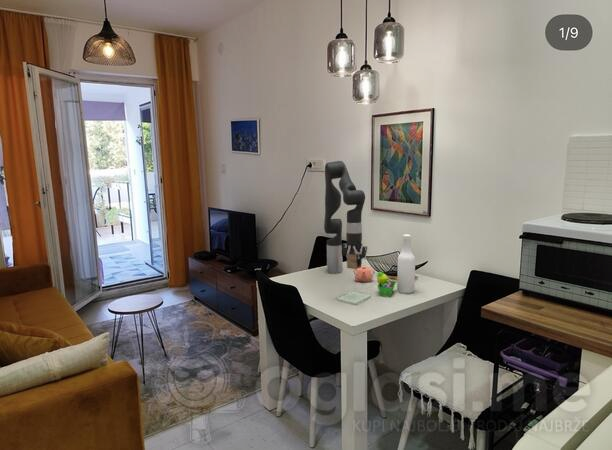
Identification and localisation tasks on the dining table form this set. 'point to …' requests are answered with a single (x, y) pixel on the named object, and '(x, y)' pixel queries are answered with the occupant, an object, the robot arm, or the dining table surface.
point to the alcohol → (406, 267)
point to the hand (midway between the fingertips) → (354, 265)
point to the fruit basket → (385, 285)
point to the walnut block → (352, 261)
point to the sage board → (354, 298)
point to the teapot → (364, 274)
